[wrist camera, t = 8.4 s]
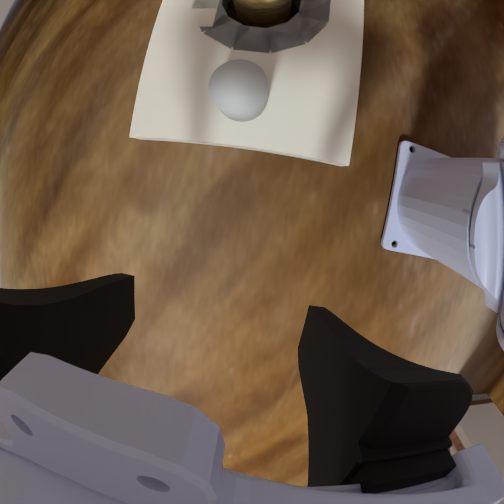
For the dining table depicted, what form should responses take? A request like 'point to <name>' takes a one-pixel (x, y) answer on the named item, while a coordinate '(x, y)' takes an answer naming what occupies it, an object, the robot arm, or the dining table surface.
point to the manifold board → (290, 84)
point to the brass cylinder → (262, 12)
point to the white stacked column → (481, 431)
